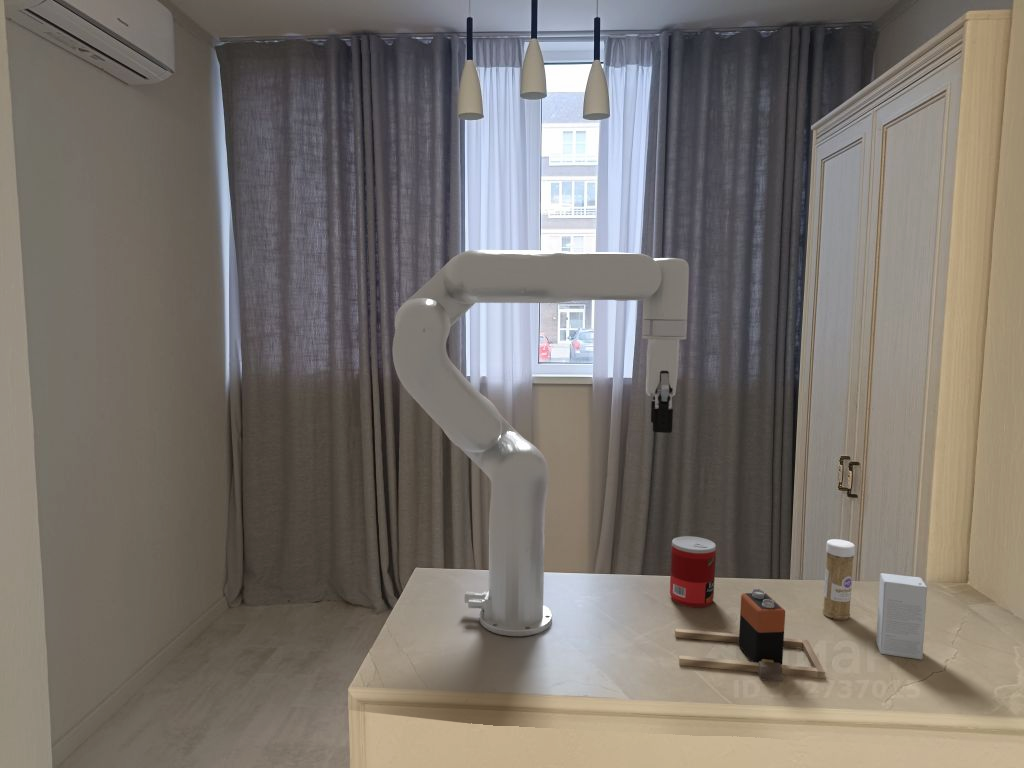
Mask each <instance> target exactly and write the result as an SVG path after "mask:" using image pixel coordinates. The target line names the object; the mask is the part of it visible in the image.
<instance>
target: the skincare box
mask: <svg viewBox="0 0 1024 768" xmlns="http://www.w3.org/2000/svg"><path fill="white" fill-rule="evenodd" d="M878 590H879V591H878V606H877V625H876V645H877V648H878V651H879V653H880V654H881V655H888V656H889V655H890V656H895V657H901V658H910V659H915V660H923V656H924V655H923V653H924V643H925V642H924V637H925V629H926V628H925V624H926V609H927V596H928V586H927V585H926V583H925V582H924V580H923V579H922V578H921V576H908V575H900V574H894V573H893V574H892V573H883V572H881V573H880V574H879V588H878Z"/></svg>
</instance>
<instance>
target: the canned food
mask: <svg viewBox="0 0 1024 768" xmlns="http://www.w3.org/2000/svg"><path fill="white" fill-rule="evenodd" d="M716 546H717V545H716V543H715V542H714V541H712V540H710V539H708V538H703V537H699V536H690V535H685V536H678V537H674V538H673V539H672V541H671V552H670V554H671V555H670V556H671V557H670V580H669V584H670V585H669V594H670V598H671V600H672V601H674V602H675V603H677V604H679V605H681V606H685V607H690V608H704V607H708V606H710V605H711V604H712V603H713V600H714V595H715V577H716V556H717V555H716V554H717V547H716Z"/></svg>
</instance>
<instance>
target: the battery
mask: <svg viewBox="0 0 1024 768" xmlns="http://www.w3.org/2000/svg"><path fill="white" fill-rule="evenodd" d="M739 611H740V612H739V613H740V614H739V631H738V632H739V633H738V634H739V643H738V647H739V648H740V649H741V650H742V652H744V654H745V655H746V656H747V658H748V659H749V660H751V661H750V662H757V663H759V661H762V659H766V660H773V661H774V663H780V664H781V665H783V657H784V647H783V643H784V638H785V624H786V623H785V622H786V621H785V620H786V610H785V609H784V607H782V605H780V604H779V603H778V602H776V601H775V599H773V598H772V597H771V596H770V595H768V594H767V593H766V591H765V590H763V589H760V588H752V590H751V592H750V593H749V592H746V593H745V592H744V593H742V594H741V595H740V610H739Z"/></svg>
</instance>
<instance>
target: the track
mask: <svg viewBox="0 0 1024 768" xmlns="http://www.w3.org/2000/svg"><path fill="white" fill-rule="evenodd" d="M674 637H675V638H682V639H691V640H703V641H714V642H715V641H716V642H727V643H735V644H736V643H738V644H739V633H731V632H730V633H728V632H717V631H706V630H695V629H693V630H692V629H686V628H685V629H684V628H683V629H682V628H675V629H674ZM784 647H785V648H793V649H794V648H795V649H796V648H797V649H802V650H803V652H804V654H805V657H806V658H807V660H808V662H809V664H810V666H811V667H810V666H799V665H791V664H790V665H789V664H788V665H787V664H782V665H781V664H780V663H774V661H773V660H766V659H762V661H759V663H757V662H752V661H747V660H746V661H745V660H744V661H743V660H733V659H725V658H723V659H722V658H713V657H702V656H701V657H700V656H689V655H678V665H680V666H689V667H699V668H700V667H701V668H710V669H720V670H721V669H722V670H731V671H743V672H755V673H758V677H759V680H763V681H773V682H783V681H782V680H783V675H784V676H785V675H786V676H795V677H807V678H816V679H817V678H818V679H825V677H826V671H825V669H824V668H823V666H822V663H821V662H820V660H819V658H818V657H817V655H816V653H815V651H814V649H813V647H812V645H811V643H810V641H809V640H808V639H798V638H789V637H784V643H783V648H784Z"/></svg>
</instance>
